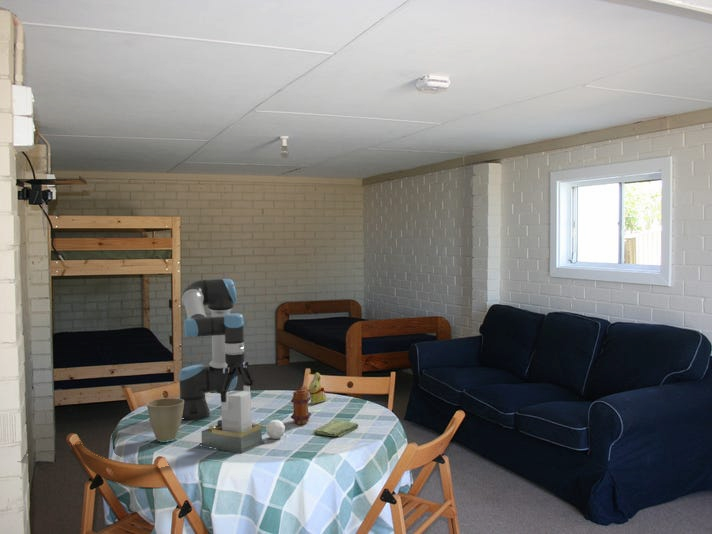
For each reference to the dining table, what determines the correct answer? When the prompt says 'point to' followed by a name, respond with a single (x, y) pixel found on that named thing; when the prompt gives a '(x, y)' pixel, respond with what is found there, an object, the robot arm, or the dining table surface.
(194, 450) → the dining table surface
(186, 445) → the dining table surface
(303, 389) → the mug
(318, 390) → the chocolate bunny
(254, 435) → the grey and gold block
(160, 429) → the plant pot
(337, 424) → the washcloth
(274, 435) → the geometric ball
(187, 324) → the robot arm
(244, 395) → the supplement box
